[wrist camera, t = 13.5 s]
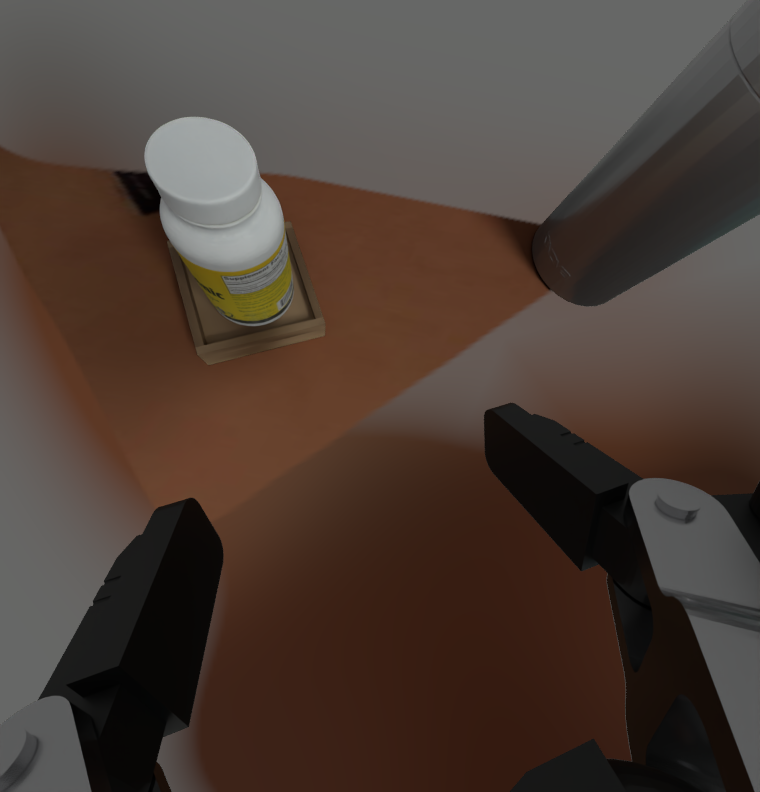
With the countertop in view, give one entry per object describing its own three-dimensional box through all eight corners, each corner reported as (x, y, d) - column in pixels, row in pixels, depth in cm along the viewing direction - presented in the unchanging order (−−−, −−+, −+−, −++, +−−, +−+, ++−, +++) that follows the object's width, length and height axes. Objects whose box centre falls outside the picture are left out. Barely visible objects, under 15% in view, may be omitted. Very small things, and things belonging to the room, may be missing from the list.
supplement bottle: (197, 269, 21) (100, 110, 12) (276, 248, 22) (247, 91, 13) (227, 340, 20) (149, 233, 11) (306, 314, 22) (298, 199, 12)
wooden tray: (292, 240, 24) (290, 221, 22) (325, 335, 23) (325, 323, 21) (179, 260, 22) (166, 241, 20) (208, 365, 21) (197, 354, 19)
